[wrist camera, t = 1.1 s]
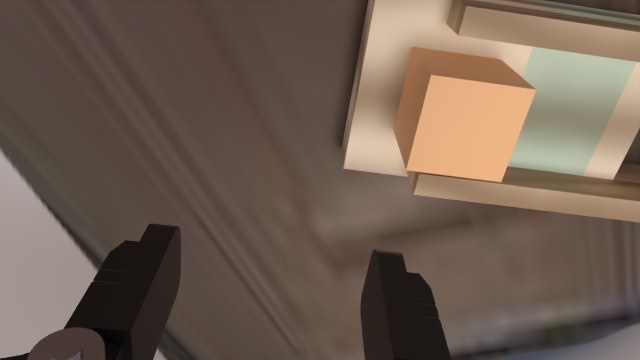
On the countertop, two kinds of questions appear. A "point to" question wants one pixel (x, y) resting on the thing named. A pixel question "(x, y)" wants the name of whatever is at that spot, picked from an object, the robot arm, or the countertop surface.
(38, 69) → the countertop surface
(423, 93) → the block
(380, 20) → the cream tray
